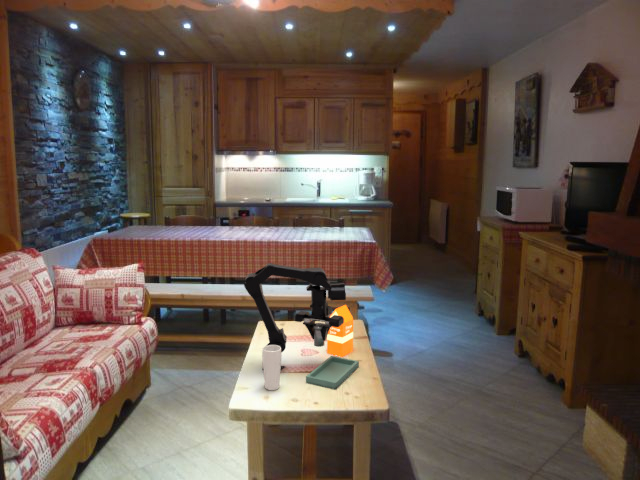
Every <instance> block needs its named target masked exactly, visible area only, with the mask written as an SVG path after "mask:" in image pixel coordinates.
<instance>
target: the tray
mask: <svg viewBox="0 0 640 480" xmlns="http://www.w3.org/2000/svg"><path fill="white" fill-rule="evenodd" d="M359 364H360V361H359V360H355V359H350V358H344V357H339V356H335V355H330V356H329V357H328V358H327V359H326V360H324V361H323V362H321V364H319V365H318V366H316V368H315V369H313V370H312V371H311V372H310V373H309V374H307V375H306V376H305V383H306V384H309V385H313V386H319V387H323V388H327V389H332V390H337V389H338V388H339V387H340V386H341V385H342V384H343V383H344V382H345V381H346V380H348V378H349V377H350V376H351V375H352V374H353V373H354V372H356V370H357V369H358V368H359V367H360V365H359Z"/></svg>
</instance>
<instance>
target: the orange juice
mask: <svg viewBox="0 0 640 480" xmlns="http://www.w3.org/2000/svg"><path fill="white" fill-rule="evenodd" d="M334 315H337V316H342V317H343V318H344V323H343V324H342V325H341V326H339V327H331V328H330V329H329V332H328V335H327V337H326V341H327V342H326V343H327V344H326V345H327V346H326V353H327V354H328V353H329V354H328V355H332V354H333V355H332V356H335V355H337V356H336V357H339V356H340V358H344V357H345V356H347V355H349V354H350V353H352V352H353V351H354V318H353V315H352V313H351V312H350V309H349V308H348V306H347V304H344V305H342V306H339V307H337V308H335V309H334V311H332V315H331V316H330V318H331V317H332V316H334Z"/></svg>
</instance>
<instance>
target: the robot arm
mask: <svg viewBox="0 0 640 480" xmlns="http://www.w3.org/2000/svg"><path fill="white" fill-rule="evenodd" d="M326 274H327V273H326V271H325V270H324V269H323V268H322V267H308V268H302V267H293V266H288V265H281V264H276V263H275V264H274V263H272V262H269V263H267V264H266V265H265V266H263V267H262V268H259V269H258V270H257V271H255V272H251V273H248V274H247V275H246V277H245V280H244V283H243V287H244V289H245V290H246V291H247V293H248V295H249V296H250V297H251V298H252V299H253V301H254V303H255V305H256V308H257V309H258V312H259V315H260V317H261V319H262V322H263V325H264V327H265V328H266V331H267V335H268V341H269V343H267V344H266V345H265V346H267V345H278V346H280V347H281V353H283V352H284V351H285V349H286V345H287V335H286V334H285V331H284V328H283V327H281V328H279V327H278V326H277V324H276V323H277V322H276V321H275V318H274V316H273V314H272V311H271V309H270V307H269V304H268V302H267V300H266V298H265V295H264V291H263V284H262V283H264V282H265V281H266V280H268V278H271V276H275V277H276V276H277V277H282V278H289V279H295V280H301V281H304V282H306V283H308V284H309V285H307V286H306V289H305V290H306V291H307V292H310V294H311V297H310V298H311V304H310V305H309V308H311V314H310V312H309V311H304V310H300V311H298V312H296V314H295V315H294V322H297V323H301V322H302V325H303V326H305V327H306V329H307V331H308V332H309V335H310V336H311V338H312V340H314V329H313V328H312V325H313V324H315V323H316V321H317V322H321V323H324V324H325V325H323V340H324V342H325V341H327V335H328V332H329V329H330V328H331V327H339V326H341V325H342V324H343V323H344V318H343V317H342V316H337V315H334V316H332V317H331V318H330V317H327V316H328V315H329V314H331V315H332V313H333V306H330V305H329V303H328V302H327V299H329V300H330V301H331V302H344V301H346V300H347V299H346V298H347V292H346V285H345V283H344V282H338V283H331V281H330V279H328V278H327V275H326ZM284 368H285V366H284V365H281V370H280V371H282V370H283V369H284ZM262 371H263V372H264V370H263V368H262Z"/></svg>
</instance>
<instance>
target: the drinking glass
mask: <svg viewBox="0 0 640 480" xmlns="http://www.w3.org/2000/svg"><path fill="white" fill-rule="evenodd" d="M266 345H267V344H266ZM266 345H265V346H263V347H262V351H261V352H262V355H261V356H262V357H261V358H262V369H263V370H264V371H263V370H262V371H263V377H264V388H265V389H266V390H268V391H276V390H278V389H279V388H280V387H281V386H280V382H281V371H282V370H281V366H282V352H281V347H280V346H278V345H267V346H266Z"/></svg>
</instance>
